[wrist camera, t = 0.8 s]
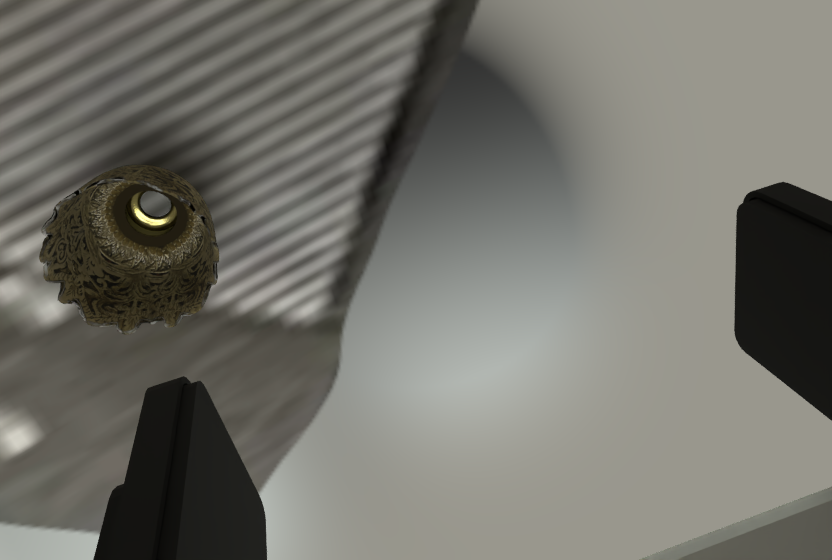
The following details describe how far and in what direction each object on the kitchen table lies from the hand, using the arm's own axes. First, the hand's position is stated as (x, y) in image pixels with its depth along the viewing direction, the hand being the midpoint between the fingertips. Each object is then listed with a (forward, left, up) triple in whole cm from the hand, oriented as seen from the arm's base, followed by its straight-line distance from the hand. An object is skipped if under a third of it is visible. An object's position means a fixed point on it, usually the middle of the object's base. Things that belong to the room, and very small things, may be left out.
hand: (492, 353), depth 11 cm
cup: (-6, -10, -28) cm, 30 cm away
